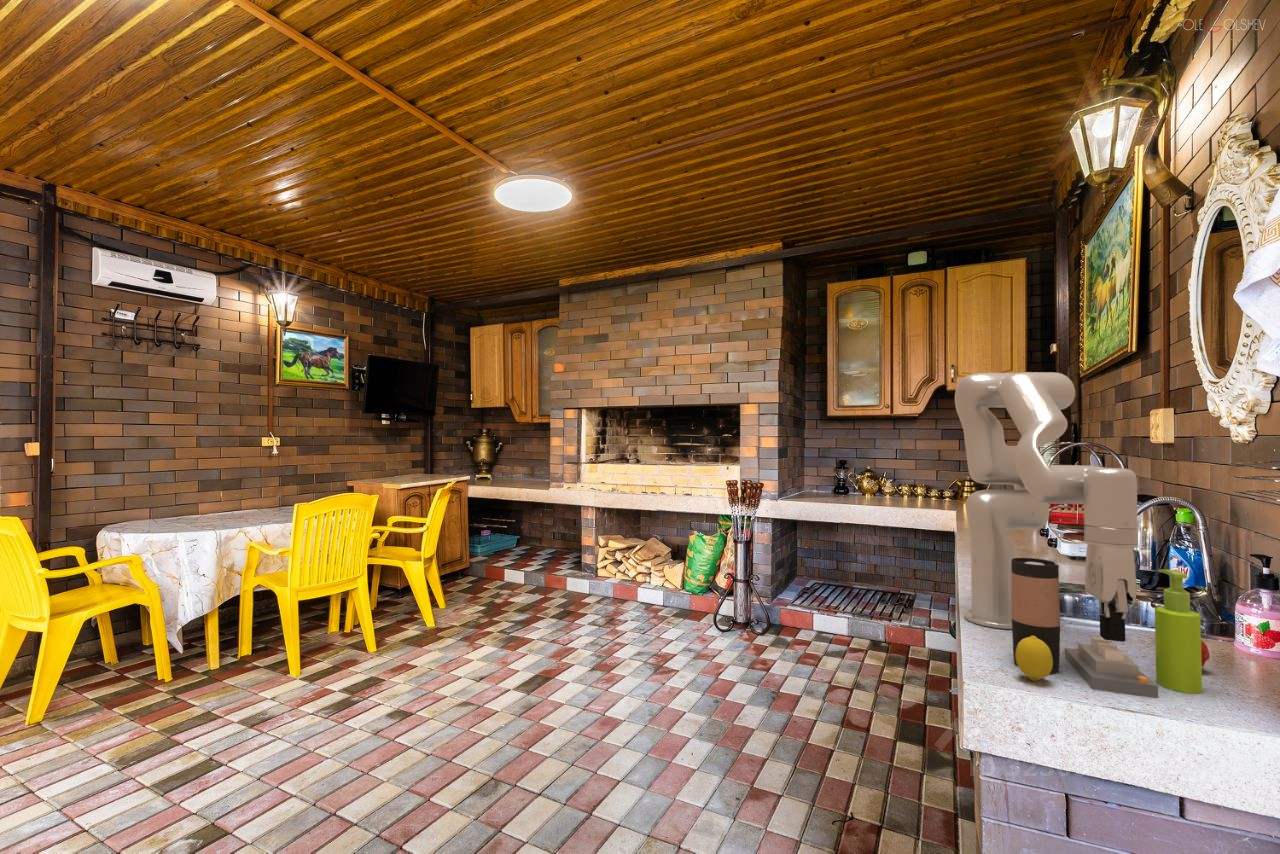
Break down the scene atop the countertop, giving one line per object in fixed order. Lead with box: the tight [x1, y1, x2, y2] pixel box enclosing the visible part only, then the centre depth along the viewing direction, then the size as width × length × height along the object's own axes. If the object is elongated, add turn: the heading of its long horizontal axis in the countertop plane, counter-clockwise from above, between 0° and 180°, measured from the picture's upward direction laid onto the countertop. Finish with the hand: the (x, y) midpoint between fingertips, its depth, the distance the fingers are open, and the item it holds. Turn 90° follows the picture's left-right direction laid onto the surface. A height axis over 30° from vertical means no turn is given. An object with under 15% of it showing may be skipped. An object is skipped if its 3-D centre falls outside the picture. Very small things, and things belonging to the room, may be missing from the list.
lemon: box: [1015, 636, 1053, 682], centre depth 103 cm, size 6×6×8 cm
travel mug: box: [1011, 557, 1061, 675], centre depth 110 cm, size 8×8×20 cm
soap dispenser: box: [1154, 568, 1203, 694], centre depth 102 cm, size 6×7×20 cm
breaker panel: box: [1063, 636, 1159, 699], centre depth 105 cm, size 16×9×6 cm, turn 157°
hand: (1112, 639), depth 103 cm, fingers closed
